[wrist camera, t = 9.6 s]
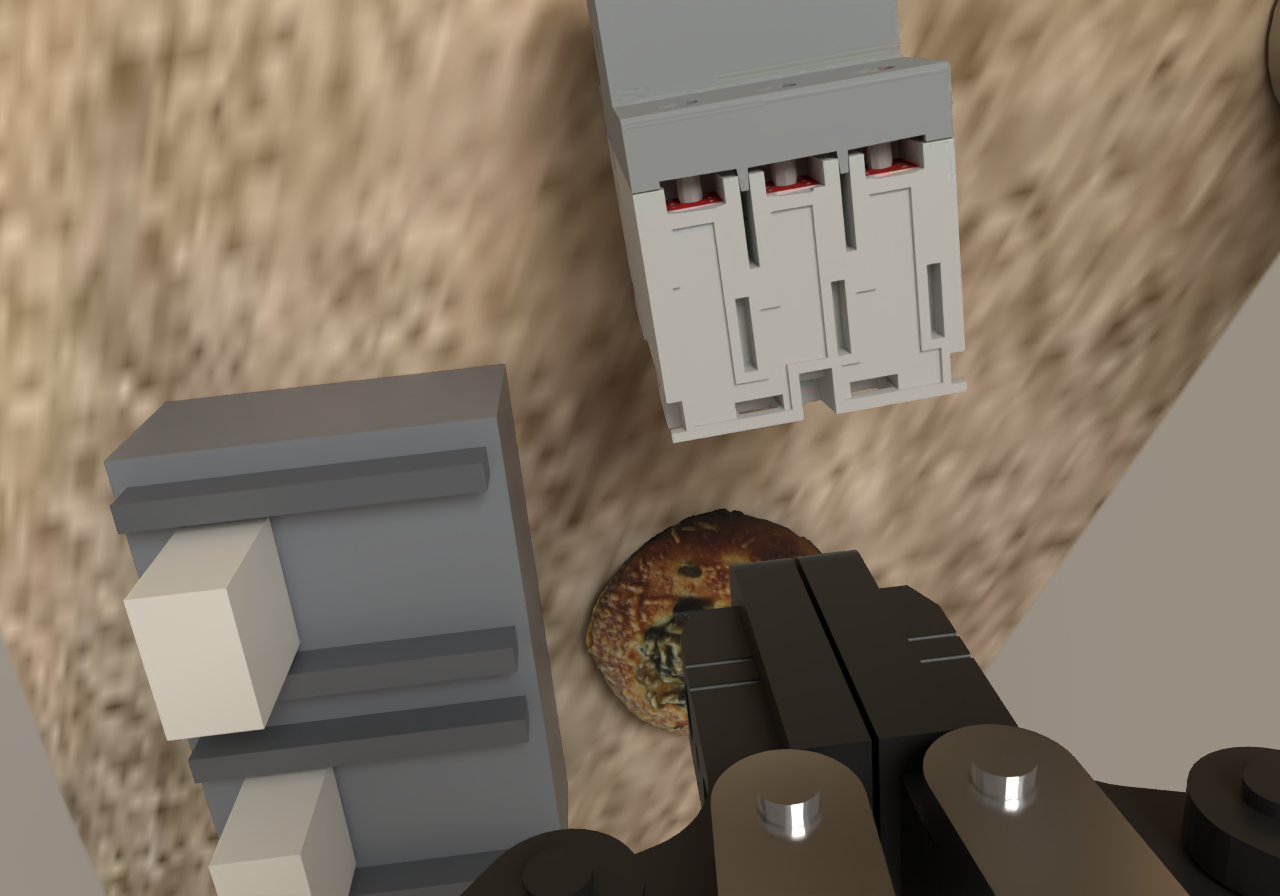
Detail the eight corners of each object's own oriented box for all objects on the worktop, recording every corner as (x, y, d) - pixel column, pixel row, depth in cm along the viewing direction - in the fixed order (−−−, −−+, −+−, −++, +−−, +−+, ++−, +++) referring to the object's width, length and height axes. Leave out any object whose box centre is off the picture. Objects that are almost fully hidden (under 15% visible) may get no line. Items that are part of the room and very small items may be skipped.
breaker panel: (504, 364, 41) (493, 432, 34) (567, 783, 49) (568, 909, 42) (165, 402, 41) (84, 479, 34) (280, 819, 48) (233, 952, 42)
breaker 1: (268, 516, 36) (225, 588, 32) (300, 643, 38) (264, 729, 34) (179, 526, 36) (123, 600, 32) (215, 653, 38) (167, 740, 33)
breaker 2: (330, 758, 40) (300, 854, 35) (356, 863, 42) (331, 967, 37) (249, 768, 40) (208, 865, 35) (278, 873, 42) (243, 978, 37)
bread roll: (815, 471, 44) (844, 541, 40) (859, 668, 50) (888, 749, 45) (556, 540, 45) (556, 616, 41) (627, 727, 50) (634, 811, 46)
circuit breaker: (787, -146, 36) (933, -254, 22) (829, 272, 41) (967, 400, 27) (565, -107, 36) (569, -190, 22) (635, 307, 41) (674, 453, 27)
